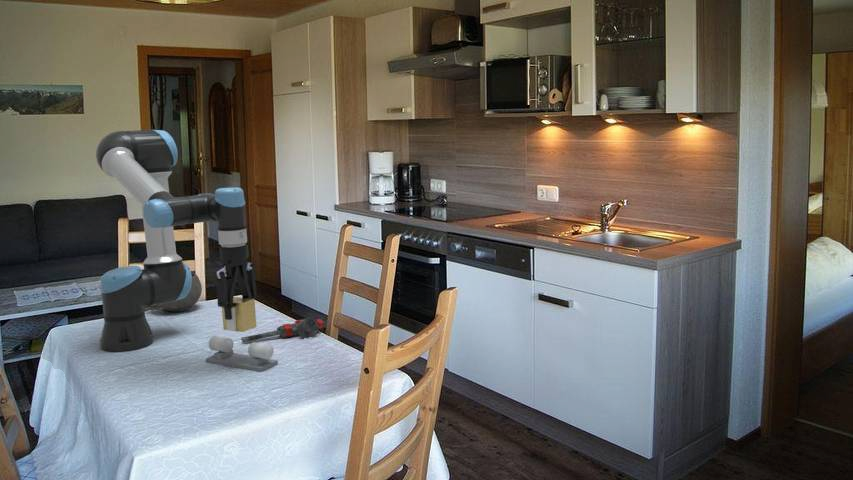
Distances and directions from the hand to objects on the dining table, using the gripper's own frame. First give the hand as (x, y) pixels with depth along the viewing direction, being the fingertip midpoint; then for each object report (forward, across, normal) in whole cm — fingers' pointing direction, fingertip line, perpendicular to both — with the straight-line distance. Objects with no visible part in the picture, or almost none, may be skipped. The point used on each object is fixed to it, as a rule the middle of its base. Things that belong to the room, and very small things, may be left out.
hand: (239, 327), depth 204 cm
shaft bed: (+10, 0, 0) cm, 10 cm away
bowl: (+10, +36, +63) cm, 74 cm away
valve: (+11, +26, +7) cm, 29 cm away
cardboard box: (0, 0, 0) cm, 0 cm away
